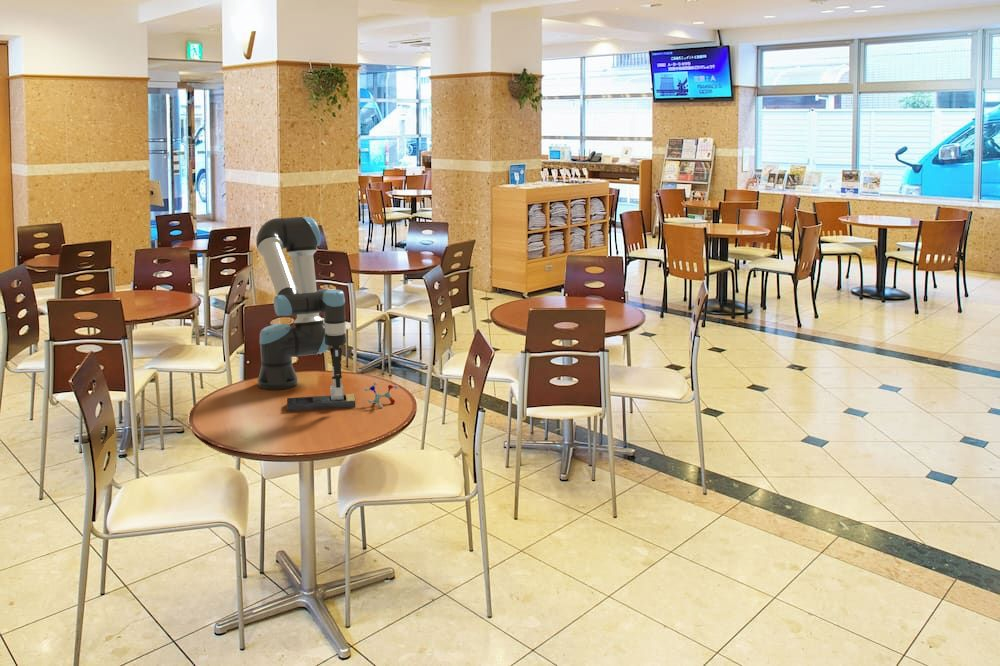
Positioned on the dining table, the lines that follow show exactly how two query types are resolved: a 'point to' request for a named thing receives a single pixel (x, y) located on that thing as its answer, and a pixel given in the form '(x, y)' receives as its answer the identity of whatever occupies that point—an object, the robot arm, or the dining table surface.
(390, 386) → the molecular model
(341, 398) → the light grey rectangular block
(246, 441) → the dining table surface
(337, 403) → the grey slotted frame
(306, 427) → the dining table surface
